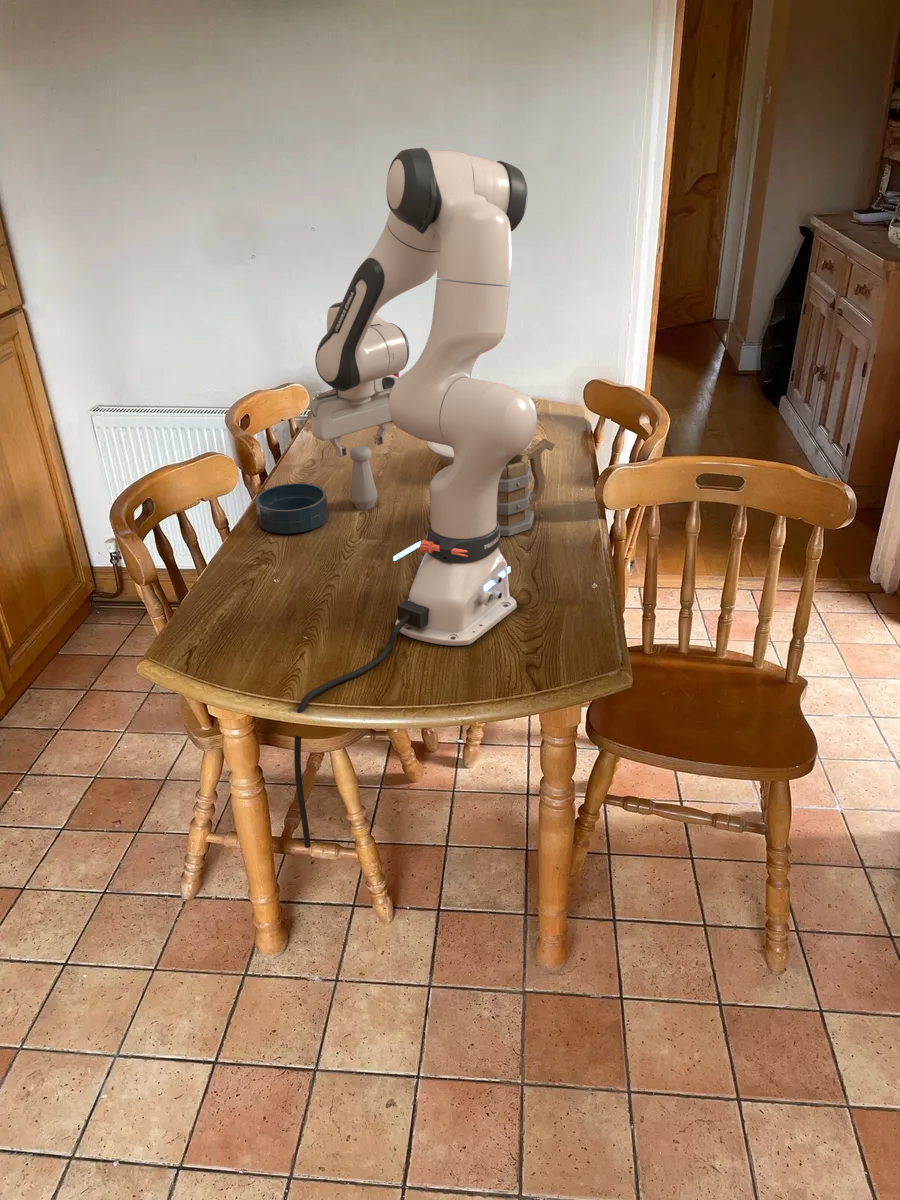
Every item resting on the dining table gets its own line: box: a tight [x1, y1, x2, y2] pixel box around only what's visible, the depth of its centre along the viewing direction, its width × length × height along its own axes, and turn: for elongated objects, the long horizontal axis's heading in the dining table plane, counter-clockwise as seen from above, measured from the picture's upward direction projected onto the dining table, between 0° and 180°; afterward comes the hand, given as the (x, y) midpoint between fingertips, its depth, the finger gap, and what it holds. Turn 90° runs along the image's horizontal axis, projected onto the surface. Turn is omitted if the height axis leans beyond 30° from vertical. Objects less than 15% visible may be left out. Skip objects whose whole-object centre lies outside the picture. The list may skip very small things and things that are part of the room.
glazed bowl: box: [255, 482, 330, 534], centre depth 190 cm, size 14×14×6 cm
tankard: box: [497, 438, 556, 537], centre depth 185 cm, size 20×13×15 cm, turn 123°
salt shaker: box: [349, 445, 379, 511], centre depth 193 cm, size 6×6×13 cm
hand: (360, 449), depth 190 cm, fingers open, 8 cm apart
